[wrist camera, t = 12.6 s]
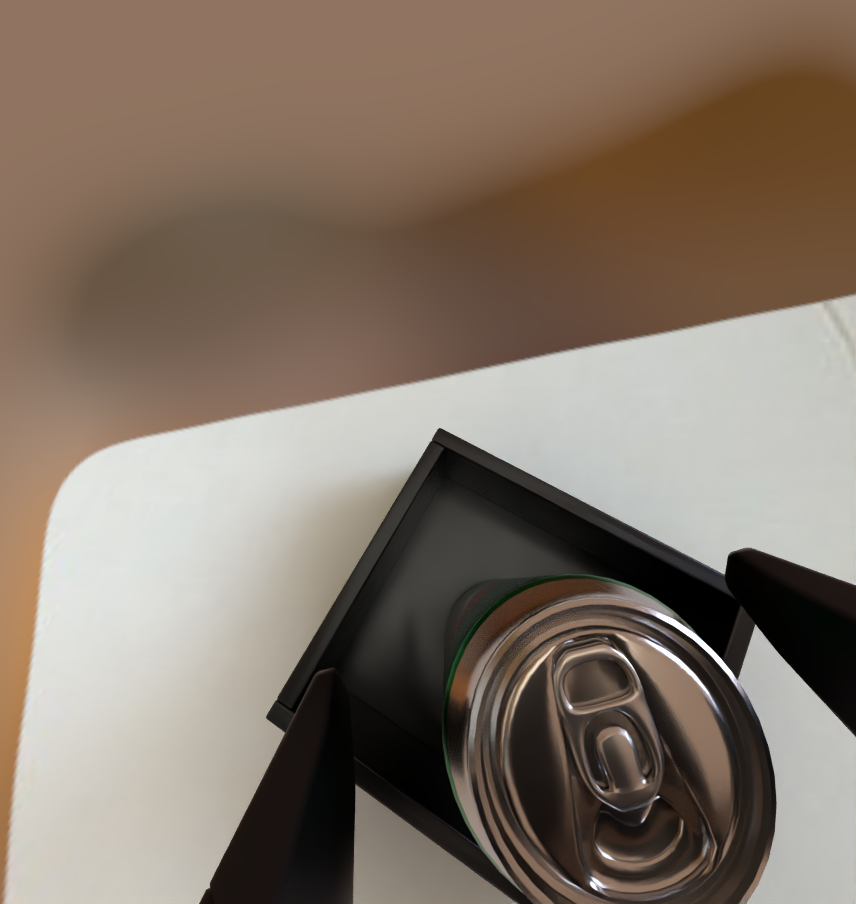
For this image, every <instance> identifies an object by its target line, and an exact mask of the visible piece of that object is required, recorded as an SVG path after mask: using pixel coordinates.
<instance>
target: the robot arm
mask: <svg viewBox="0 0 856 904" xmlns="http://www.w3.org/2000/svg"><path fill="white" fill-rule="evenodd" d="M725 583H726V585H727V587H728V589H729V591H730V592H731V593H732V594H733V596H734V597H735V598H736V600H737V601H738V602H739V603H740V605H741V606H742V607H743V609H744V610H745V611H746V612H747V614H748V615H749V616H750V618H751V619H752V620H753V621H754V623H755V624H756V625H757V627H758V628H759V629H760V630H761V632H762V633H763V634H764V636H765V637H766V638H767V639H768V641H769V642H770V643H771V644H772V646H773V647H774V648H775V649H776V650H777V652H778V653H779V654H780V655H781V656H782V657H783V659H784V660H785V661H786V662H787V663H788V664H789V665H790V666H791V667H792V668H793V670H794V671H795V672H796V673H797V674H798V675H799V676H800V677H801V678H802V679H803V680H804V681H805V682H806V684H807V685H808V686H809V687H810V688H811V689H812V690H813V691H814V692H815V693H816V694H817V695H818V697H819V698H820V699H821V700H822V701H823V702H824V703H825V704H826V705H827V706H828V707H829V708H830V709H831V711H832V712H833V713H834V714H835V715H836V716H837V717H838V718H839V719H840V720H841V721H842V722H843V724H844V725H845V726H846V727H847V728H848V729H849V730H850V731H851V732H852V733H853V734H854V735H855V737H856V585H853V584H850V583H847V582H845V581H842V580H839V579H836V578H834V577H831V576H828V575H825V574H822V573H820V572H817V571H814V570H811V569H808V568H806V567H803V566H800V565H797V564H795V563H792V562H789V561H786V560H783V559H781V558H778V557H775V556H772V555H769V554H767V553H764V552H761V551H758V550H756V549H752V548H744V549H740V550H737V551H733V552H731V553H730V554H729V555H728V560H727V566H726V572H725ZM354 831H355V768H354V754H353V741H352V728H351V714H350V701H349V695H348V691H347V689H346V687H345V685H344V683H343V681H342V679H341V677H340V675H339V673H338V671H337V670H336V669H335V668H329V669H326V670H322V671H319V672H317V673H316V674H315V675H314V677H313V679H312V681H311V683H310V685H309V687H308V689H307V691H306V693H305V695H304V697H303V699H302V701H301V703H300V705H299V707H298V709H297V711H296V713H295V715H294V717H293V719H292V721H291V723H290V725H289V727H288V729H287V731H286V733H285V735H284V737H283V739H282V741H281V743H280V745H279V747H278V749H277V751H276V753H275V755H274V757H273V759H272V761H271V763H270V765H269V767H268V768H267V770H266V772H265V774H264V776H263V778H262V780H261V782H260V784H259V786H258V788H257V790H256V792H255V794H254V796H253V798H252V800H251V802H250V804H249V806H248V808H247V810H246V812H245V814H244V816H243V818H242V820H241V822H240V824H239V826H238V828H237V830H236V832H235V834H234V836H233V838H232V840H231V842H230V844H229V846H228V848H227V850H226V852H225V854H224V856H223V858H222V860H221V862H220V864H219V866H218V868H217V870H216V872H215V874H214V876H213V878H212V880H211V882H210V888H208V889H207V890H206V891H205V893H204V895H203V897H202V899H201V901H200V903H199V904H353V876H354Z"/></svg>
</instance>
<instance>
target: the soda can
mask: <svg viewBox="0 0 856 904" xmlns="http://www.w3.org/2000/svg"><path fill="white" fill-rule="evenodd" d="M442 723H443V747H444V755H445V762H446V768H447V772H448V776H449V779H450V783H451V787H452V790H453V794H454V797H455V799H456V802H457V804H458V806H459V809H460V811H461V813H462V816H463V818H464V820H465V823H466V824H467V826H468V828H469V830H470V831H471V833H472V835H473V836H474V838H475V840H476V841H477V843H478V845H479V846H480V848H481V849H482V851H483V852H484V853H485V854H486V855H487V857H488V858H489V859H490V860H491V862H492V863H493V864H494V865H495V867H496V868H497V869H498V870H499V872H500V873H502V874H503V875H504V876H505V877H506V878H507V879H508V880H509V881H510V882H511V883H512V884H513V885H515V886H516V887H517V888H518V889H519V890H520V891H521V892H523V893H524V895H525V896H526V897H527V898H528V899H529V900H530V901H531V902H532V903H533V904H746V903H747V901H748V900H749V898H750V896H751V895H752V893H753V892H754V890H755V889H756V887H757V885H758V884H759V881H760V879H761V876H762V874H763V871H764V869H765V866H766V864H767V861H768V859H769V854H770V850H771V846H772V841H773V837H774V832H775V819H776V804H777V803H776V790H775V776H774V770H773V766H772V761H771V756H770V752H769V747H768V744H767V741H766V738H765V735H764V732H763V730H762V727H761V724H760V721H759V719H758V717H757V715H756V713H755V711H754V709H753V707H752V705H751V702H750V700H749V698H748V696H747V694H746V693H745V691H744V690H743V688H742V687H741V685H740V684H739V682H738V681H737V679H736V678H735V676H734V675H733V673H732V672H731V671H730V669H729V668H728V667H727V666H726V665H725V664H724V662H723V661H722V660H721V659H720V658H719V657H718V655H717V654H716V653H715V652H714V651H713V650H712V649H711V648H710V647H709V646H707V645H706V644H705V643H704V642H703V640H702V639H701V638H700V637H699V636H698V635H697V633H696V632H695V631H694V630H693V629H692V628H691V627H690V626H689V625H688V624H687V623H686V622H685V621H684V620H683V619H682V618H680V617H679V616H678V615H677V614H676V613H675V612H674V611H673V610H672V609H670V608H669V607H667V606H666V605H664V604H663V603H661V602H660V601H658V600H657V599H655V598H654V597H653V596H651V595H649V594H647V593H645V592H643V591H641V590H639V589H637V588H635V587H633V586H631V585H628V584H625V583H622V582H619V581H616V580H613V579H610V578H604V577H598V576H592V575H575V574H565V575H550V576H536V577H522V578H507V579H496V580H490V581H487V582H484V583H481V584H479V585H477V586H475V587H473V588H471V589H470V590H469V591H468V592H466V593H465V594H464V595H463V596H462V597H461V598H460V599H459V600H458V602H457V603H456V605H455V606H454V608H453V609H452V612H451V614H450V616H449V618H448V622H447V625H446V629H445V636H444V671H443V712H442Z"/></svg>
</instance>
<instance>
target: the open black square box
mask: <svg viewBox="0 0 856 904" xmlns="http://www.w3.org/2000/svg"><path fill="white" fill-rule="evenodd" d="M565 574H575V575H592V576H598V577H604V578H610V579H613V580H616V581H619V582H622V583H625V584H628V585H631V586H633V587H635V588H637V589H639V590H641V591H643V592H645V593H647V594H649V595H651V596H653V597H654V598H655V599H657V600H658V601H660V602H661V603H663V604H664V605H666V606H667V607H669V608H670V609H672V610H673V611H674V612H675V613H676V614H677V615H678V616H679V617H680V618H682V619H683V620H684V621H685V622H686V623H687V624H688V625H689V626H690V627H691V628H692V629H693V630H694V631H695V632H696V633H697V635H698V636H699V637H700V638H701V639H702V640H703V642H704V643H705V644H706V645H707V646H709V647H710V648H711V649H712V650H713V651H714V652H715V653H716V654H717V655H718V657H719V658H720V659H721V660H722V661H723V662H724V664H725V665H726V666H727V667H728V668H729V669H730V671H731V672H732V673H733V675H734V676H735V678H736V679H737V680H738V677H739V674H740V671H741V668H742V665H743V661H744V658H745V655H746V652H747V649H748V646H749V643H750V639H751V636H752V633H753V630H754V627H755V623H754V621H753V620H752V619H751V618H750V616H749V615H748V614H747V612H746V611H745V610H744V609H743V607H742V606H741V605H740V603H739V602H738V601H737V600H736V598H735V597H734V596H733V594H732V593H731V592H730V591H729V589H728V587H727V585H726V583H725V575H724V574H722V573H720V572H718V571H716V570H714V569H712V568H710V567H709V566H707V565H705V564H703V563H701V562H699V561H697V560H695V559H693V558H691V557H689V556H687V555H685V554H683V553H681V552H679V551H678V550H676V549H674V548H672V547H670V546H668V545H666V544H664V543H662V542H660V541H658V540H656V539H654V538H652V537H650V536H648V535H647V534H645V533H643V532H641V531H639V530H637V529H635V528H633V527H631V526H629V525H627V524H625V523H623V522H621V521H619V520H617V519H616V518H614V517H612V516H610V515H608V514H606V513H604V512H602V511H600V510H598V509H596V508H594V507H592V506H590V505H588V504H586V503H585V502H583V501H581V500H579V499H577V498H575V497H573V496H571V495H569V494H567V493H565V492H563V491H561V490H559V489H557V488H556V487H554V486H552V485H550V484H548V483H546V482H544V481H542V480H540V479H538V478H536V477H534V476H532V475H530V474H528V473H526V472H525V471H523V470H521V469H519V468H517V467H515V466H513V465H511V464H509V463H507V462H505V461H503V460H501V459H499V458H497V457H495V456H494V455H492V454H490V453H488V452H486V451H484V450H482V449H480V448H478V447H476V446H474V445H472V444H470V443H468V442H466V441H464V440H463V439H461V438H459V437H457V436H455V435H453V434H451V433H449V432H447V431H445V430H443V429H441V428H439V429H438V430H437V432H436V433H435V435H434V437H433V438H432V441H431V442H430V443H429V445H428V447H427V448H426V450H425V452H424V453H423V455H422V457H421V458H420V460H419V462H418V463H417V465H416V467H415V468H414V470H413V472H412V473H411V475H410V477H409V478H408V480H407V482H406V483H405V485H404V487H403V488H402V490H401V492H400V493H399V495H398V497H397V498H396V500H395V502H394V503H393V505H392V507H391V508H390V510H389V512H388V513H387V515H386V517H385V518H384V520H383V522H382V523H381V525H380V527H379V529H378V530H377V532H376V534H375V535H374V537H373V539H372V540H371V542H370V544H369V545H368V547H367V549H366V550H365V552H364V554H363V555H362V557H361V559H360V560H359V562H358V564H357V565H356V567H355V569H354V570H353V572H352V574H351V575H350V577H349V579H348V580H347V582H346V584H345V585H344V587H343V589H342V590H341V592H340V594H339V595H338V597H337V599H336V600H335V602H334V604H333V605H332V607H331V609H330V610H329V612H328V614H327V615H326V617H325V619H324V620H323V622H322V624H321V625H320V627H319V629H318V630H317V632H316V634H315V635H314V637H313V639H312V640H311V642H310V644H309V645H308V647H307V649H306V650H305V652H304V654H303V656H302V657H301V659H300V661H299V662H298V664H297V666H296V667H295V669H294V671H293V672H292V674H291V676H290V677H289V679H288V681H287V682H286V684H285V686H284V687H283V689H282V691H281V692H280V694H279V696H278V698H277V699H278V700H276V701H275V702H274V704H273V706H272V707H271V709H270V711H269V712H268V714H267V716H266V718H267V719H268V720H269V721H270V722H272V723H273V724H274V725H276V726H277V727H278V728H280V729H281V730H282V731H284V732H285V733H286V731H287V729H288V727H289V725H290V723H291V721H292V719H293V717H294V715H295V713H296V711H297V709H298V707H299V705H300V703H301V701H302V699H303V697H304V695H305V693H306V691H307V689H308V687H309V685H310V683H311V681H312V679H313V677H314V675H315V674H316V673H317V672H319V671H322V670H326V669H329V668H335V669H336V670H337V671H338V673H339V675H340V677H341V679H342V681H343V683H344V685H345V687H346V689H347V691H348V695H349V701H350V714H351V728H352V741H353V754H354V768H355V784H356V785H357V786H359V787H360V788H361V789H363V790H364V791H365V792H367V793H368V794H369V795H371V796H372V797H374V798H375V799H376V800H378V801H379V802H380V803H382V804H383V805H384V806H386V807H387V808H388V809H390V810H391V811H393V812H394V813H395V814H397V815H398V816H399V817H401V818H402V819H403V820H405V821H406V822H407V823H409V824H410V825H412V826H413V827H414V828H416V829H417V830H418V831H420V832H421V833H422V834H424V835H425V836H427V837H428V838H429V839H431V840H432V841H433V842H435V843H436V844H437V845H439V846H440V847H441V848H443V849H444V850H446V851H447V852H448V853H450V854H451V855H452V856H454V857H455V858H456V859H458V860H459V861H460V862H462V863H463V864H465V865H466V866H467V867H469V868H470V869H471V870H473V871H474V872H475V873H477V874H478V875H480V876H481V877H482V878H484V879H485V880H486V881H488V882H489V883H490V884H492V885H493V886H494V887H496V888H497V889H499V890H500V891H501V892H503V893H504V894H505V895H507V896H508V897H509V898H511V899H512V900H513V901H515V902H516V903H518V904H533V903H532V902H531V901H530V900H529V899H528V898H527V897H526V896H525V895H524V893H523V892H521V891H520V890H519V889H518V888H517V887H516V886H515V885H513V884H512V883H511V882H510V881H509V880H508V879H507V878H506V877H505V876H504V875H503V874H502V873H500V872H499V870H498V869H497V868H496V867H495V865H494V864H493V863H492V862H491V860H490V859H489V858H488V857H487V855H486V854H485V853H484V852H483V851H482V849H481V848H480V846H479V845H478V843H477V841H476V840H475V838H474V836H473V835H472V833H471V831H470V830H469V828H468V826H467V824H466V823H465V820H464V818H463V816H462V813H461V811H460V809H459V806H458V804H457V802H456V799H455V797H454V794H453V790H452V787H451V783H450V779H449V776H448V772H447V768H446V762H445V755H444V747H443V723H442V712H443V671H444V636H445V629H446V625H447V622H448V618H449V616H450V614H451V612H452V609H453V608H454V606H455V605H456V603H457V602H458V600H459V599H460V598H461V597H462V596H463V595H464V594H465V593H466V592H468V591H469V590H470V589H471V588H473V587H475V586H477V585H479V584H481V583H484V582H487V581H490V580H496V579H507V578H522V577H536V576H550V575H565Z"/></svg>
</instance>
